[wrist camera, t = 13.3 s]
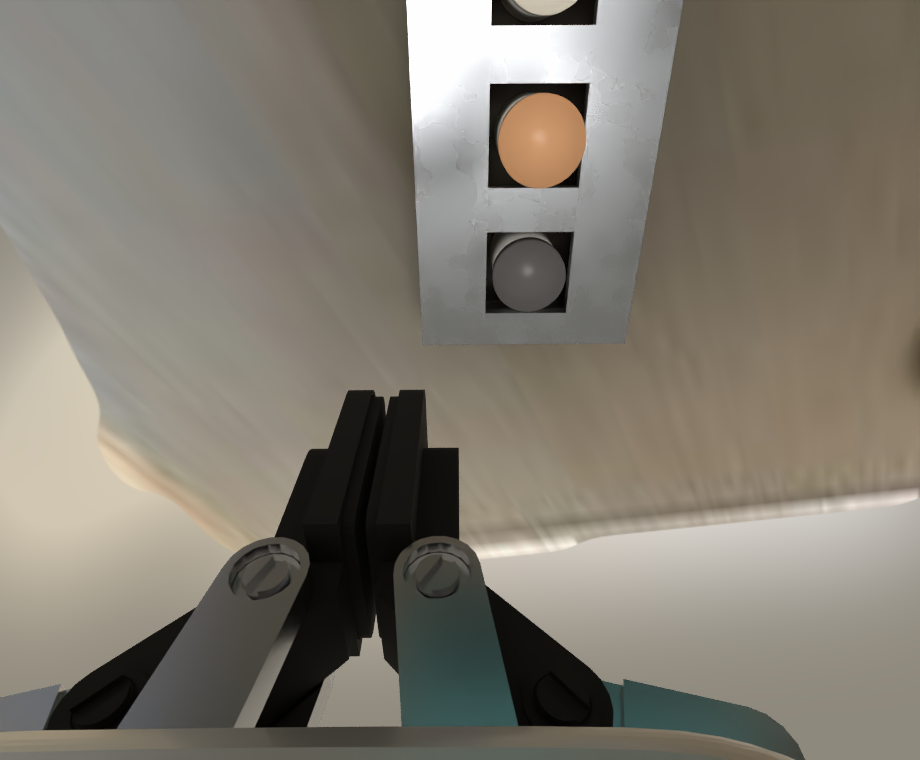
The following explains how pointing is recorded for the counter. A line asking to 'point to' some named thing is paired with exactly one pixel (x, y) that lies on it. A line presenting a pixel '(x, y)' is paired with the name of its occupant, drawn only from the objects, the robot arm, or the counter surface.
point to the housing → (524, 208)
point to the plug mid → (539, 138)
